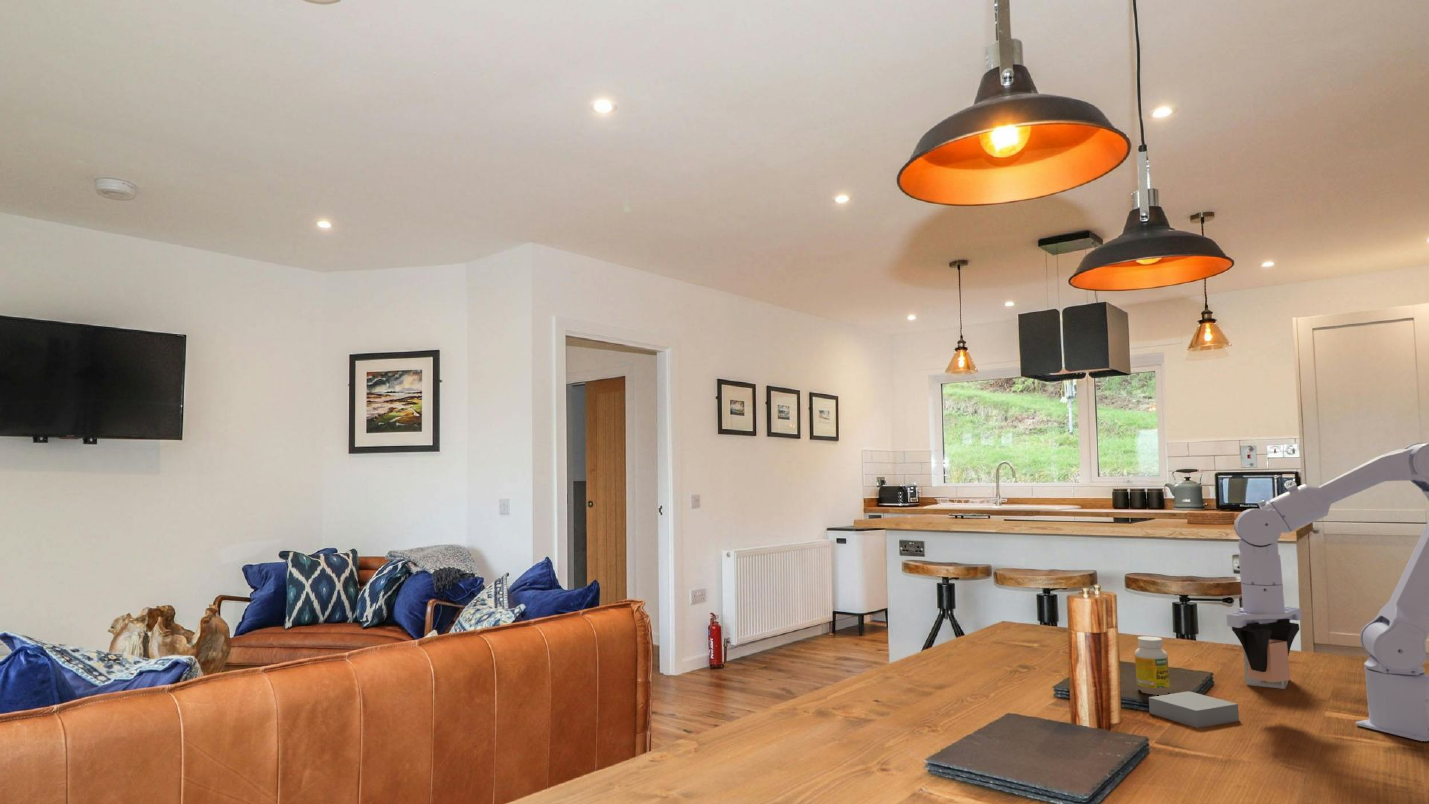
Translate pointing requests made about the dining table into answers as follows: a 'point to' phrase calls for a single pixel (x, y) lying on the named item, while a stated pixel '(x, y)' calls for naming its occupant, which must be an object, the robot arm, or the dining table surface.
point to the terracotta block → (1274, 663)
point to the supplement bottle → (1151, 663)
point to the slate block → (1194, 709)
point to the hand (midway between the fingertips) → (1268, 669)
